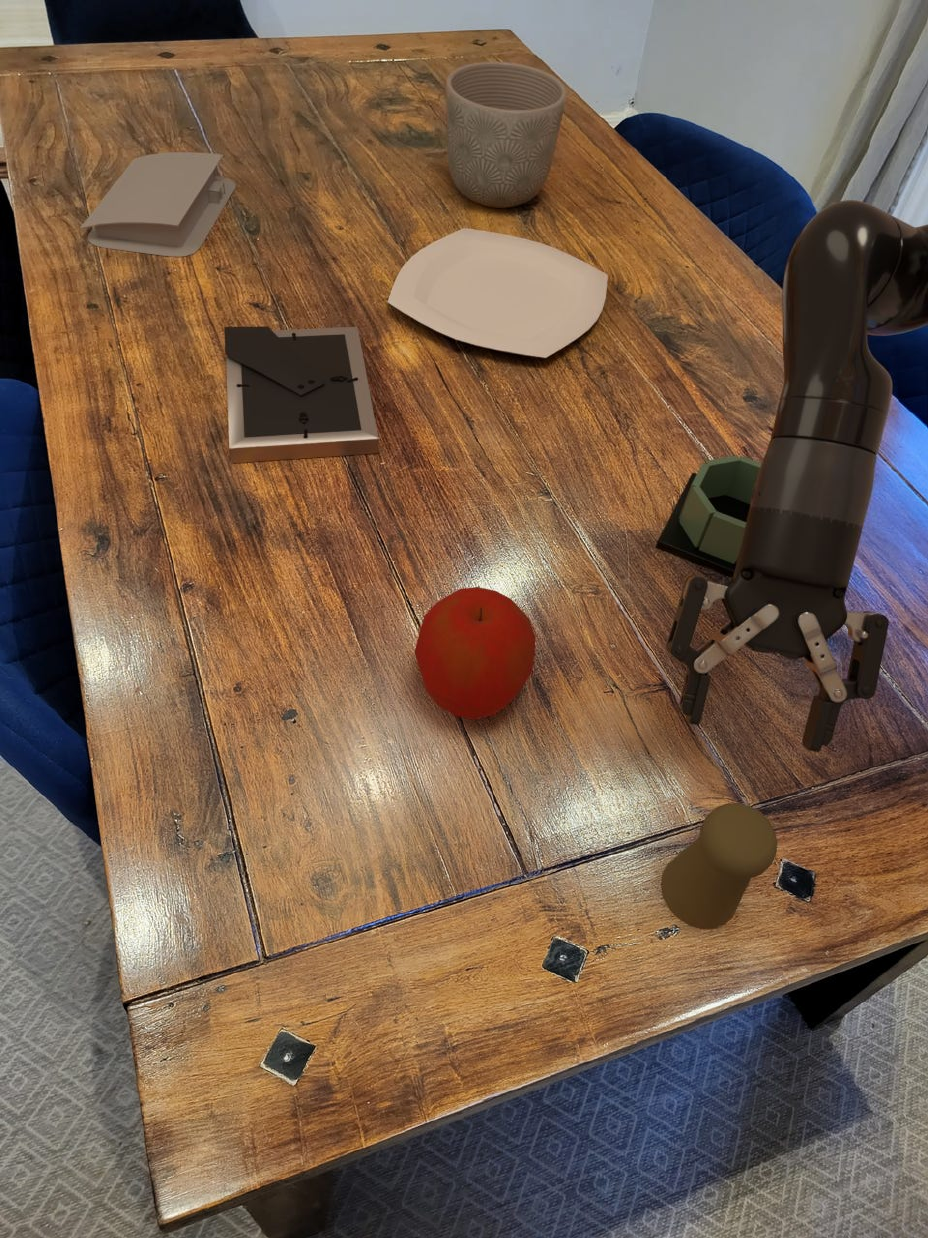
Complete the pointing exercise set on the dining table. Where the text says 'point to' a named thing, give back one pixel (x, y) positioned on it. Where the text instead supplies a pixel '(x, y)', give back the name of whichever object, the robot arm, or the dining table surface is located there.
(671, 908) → the cork
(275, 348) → the face-down photo frame
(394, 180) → the dining table surface
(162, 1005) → the dining table surface
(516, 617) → the apple
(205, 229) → the book
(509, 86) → the planter
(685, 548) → the cup holder
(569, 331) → the plate
